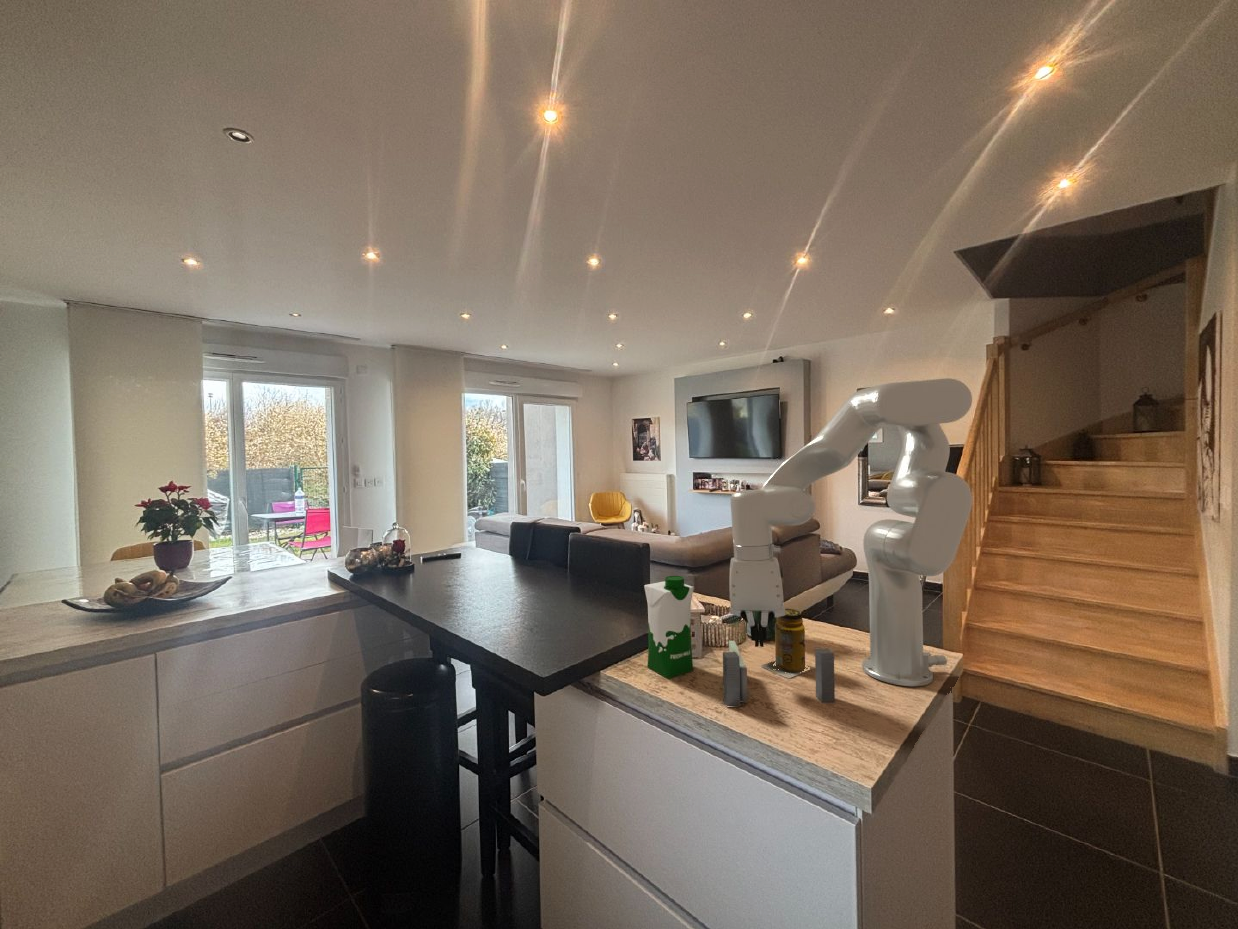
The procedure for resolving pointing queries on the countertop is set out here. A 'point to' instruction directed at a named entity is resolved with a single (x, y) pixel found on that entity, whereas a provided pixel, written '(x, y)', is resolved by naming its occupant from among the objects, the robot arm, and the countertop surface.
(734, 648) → the panel
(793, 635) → the condiment
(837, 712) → the countertop surface
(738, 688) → the gate posts
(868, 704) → the countertop surface
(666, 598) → the milk carton
